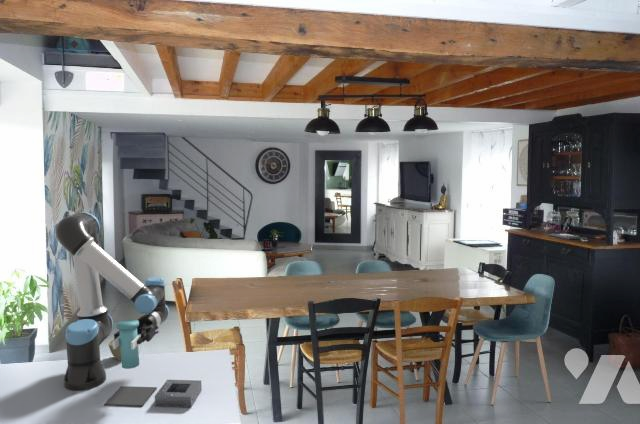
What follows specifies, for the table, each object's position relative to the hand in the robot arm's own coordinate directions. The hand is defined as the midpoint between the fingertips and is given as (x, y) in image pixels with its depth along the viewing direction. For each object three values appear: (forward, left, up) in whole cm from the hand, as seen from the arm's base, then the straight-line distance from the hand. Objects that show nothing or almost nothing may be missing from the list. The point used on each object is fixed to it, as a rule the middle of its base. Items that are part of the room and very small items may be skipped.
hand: (122, 345), depth 194 cm
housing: (+18, +5, -22) cm, 28 cm away
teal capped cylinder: (0, +5, -9) cm, 11 cm away
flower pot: (-19, +40, -22) cm, 50 cm away
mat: (0, +5, -22) cm, 22 cm away
